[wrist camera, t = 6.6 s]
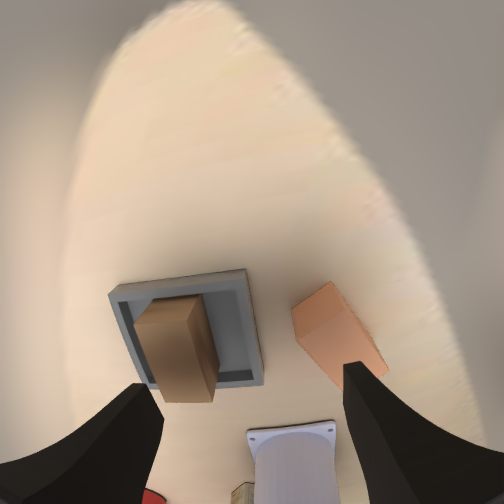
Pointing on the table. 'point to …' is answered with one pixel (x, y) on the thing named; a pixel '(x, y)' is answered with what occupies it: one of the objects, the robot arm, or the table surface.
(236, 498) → the box
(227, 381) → the tray
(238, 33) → the table surface
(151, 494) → the beer can
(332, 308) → the terracotta brick
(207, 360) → the walnut brick
